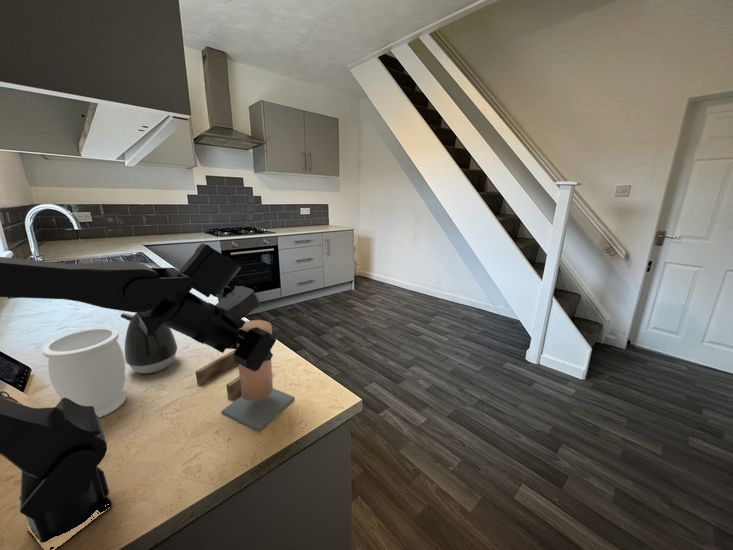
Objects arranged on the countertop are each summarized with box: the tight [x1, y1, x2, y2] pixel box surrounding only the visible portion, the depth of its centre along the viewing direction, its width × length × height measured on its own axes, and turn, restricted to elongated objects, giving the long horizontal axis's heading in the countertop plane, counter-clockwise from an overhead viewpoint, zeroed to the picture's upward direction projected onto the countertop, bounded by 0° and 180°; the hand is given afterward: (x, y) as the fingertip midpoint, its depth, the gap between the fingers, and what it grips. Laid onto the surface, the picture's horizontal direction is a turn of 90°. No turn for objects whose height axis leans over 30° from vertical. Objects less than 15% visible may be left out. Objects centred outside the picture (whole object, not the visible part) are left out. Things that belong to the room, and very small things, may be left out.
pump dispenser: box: [120, 312, 178, 374], centre depth 69 cm, size 10×10×15 cm
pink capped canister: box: [237, 319, 274, 401], centre depth 56 cm, size 7×7×14 cm
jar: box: [41, 327, 127, 419], centre depth 56 cm, size 11×10×15 cm
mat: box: [221, 387, 295, 433], centre depth 59 cm, size 10×10×1 cm
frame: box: [194, 349, 241, 401], centre depth 67 cm, size 11×11×4 cm
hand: (260, 352), depth 57 cm, fingers closed on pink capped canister, 6 cm apart
